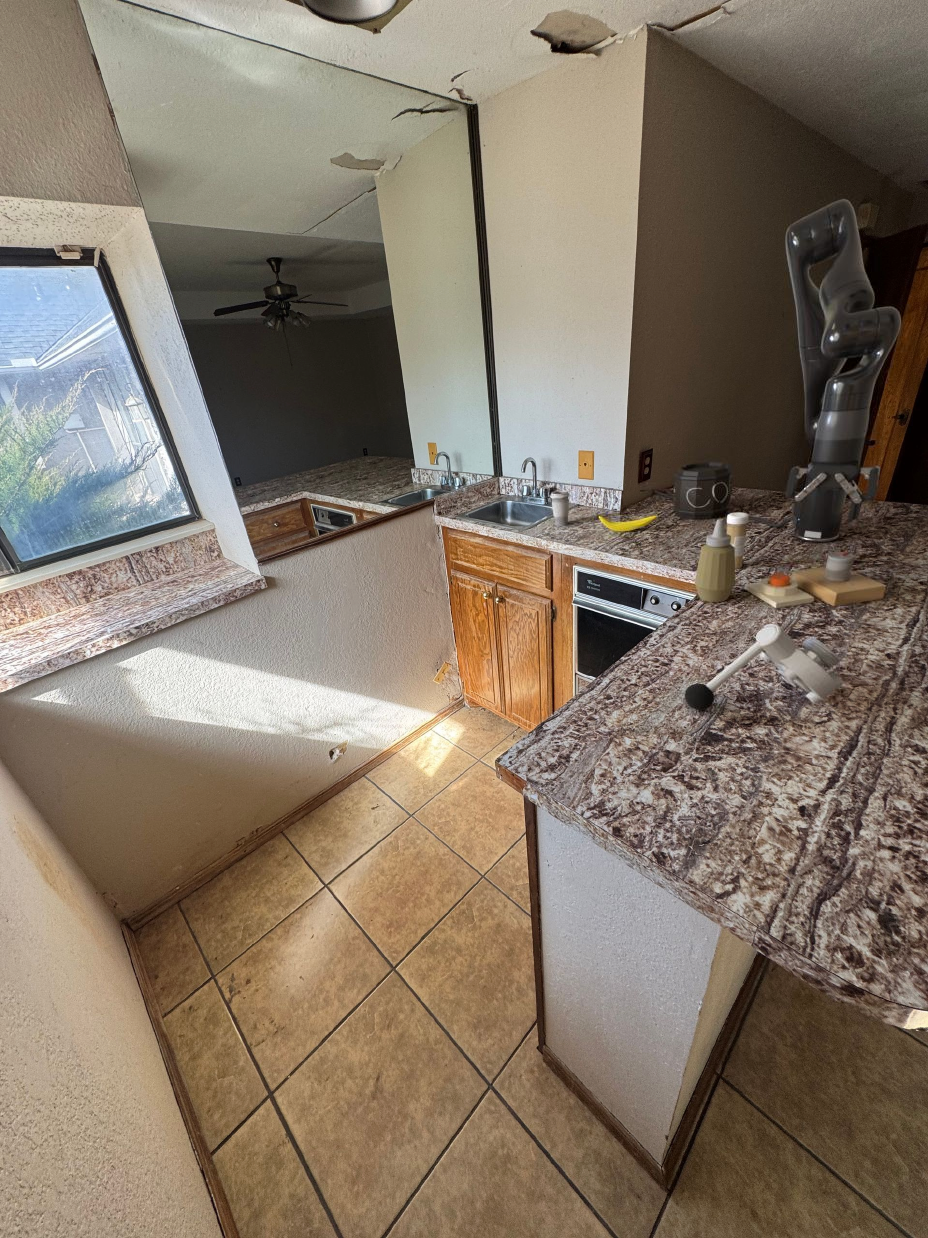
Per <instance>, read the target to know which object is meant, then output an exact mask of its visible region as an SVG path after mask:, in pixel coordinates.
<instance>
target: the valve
mask: <svg viewBox="0 0 928 1238" xmlns="http://www.w3.org/2000/svg"><path fill="white" fill-rule="evenodd" d="M755 640H756V641H755V643H754V644H753V645H751V646H750V647H749V648H748V649H747V650H745V651H744V652H743V653H742V654H740V655H739V656H738V657H737V658H736V659H735V660H733V661H732V662H731V663H730V664H729V665H728V666H726V667H725V668H724V669H723V670H722V671H720V672H719V673H718V674H717V675H716V676H714V678H712V679H711V680H710V681H709V682H707V683H706V684H704V683H699V682H697V683H693V684H691V685H689V686H687V688H686V690H685V692H684V700H685V702H686V704H687V705H688V706H689V707H690V708H691V709H693V710H695V711H705V710H708V709H709V708H710V707H712V705H713V704H714V702H715V693H714V691H716V690H717V689H718V688H720V686H722V685H723V684H724V683H725V682H727V681H728V680H729V679H730V678H732V677H733V676H734V675H736V673H738V671H740V670H741V669H742V668H744V667H745V666H746V665H747V664H748V663H750V662H751V661H752V660H754V658H756V657H757V656H759V657H760V658H761V659H762V661H764V662H765V663H767V664H769V663H770V662H772V663H773V665H774V666H775V667H776V668H777V669H778V670H777V671H776V672H777V673H778V674H779V675H780V678H781V679H782V680H783V681H784V682H786V684H788V685H792V687H794V688H797V687H799V688H800V689H802V690H804V691H805V692H807V694H805V697H806V699H808V700H809V701H810V702H811V703H812V704H813V705H817V704H818V703H819V702H821V701H823V700H824V699H826V698H827V697H829V696H830V695H831V694H833V693H834V692H835V691H837V689H839V688H840V687H841V686H843V685H844V682H843V680H842V679H841V677H838V676H837V675H835V674H833V673H831V674H829V673H828V672H827V670H826V669H824V667H826V668H827V669H830V670H831V668H834V666H836V665H837V664H838V663H840V662H841V660H840V657H838V655H837V654H835V652H834V651H832V650H831V648H829V647H828V646H826V645H825V644H824V643H823V642H822V641H820V640H818V639H817V638H815V637H813V636H811V635H810V636H808V637H807V638H805V639H804V640H803V641H802V642H800V645H801V647H802V648H803V649H801V648H800V647H799V645H798V644H797V642H796V641H794V639H793V638H792V637H791V636H790V635H789V634H788V633H787V632H786V631H785V630H784V629H783V628H782V627H781V626H780V625H779V624H776V623H768V624H765V625H763V627H762V628H761V629H760V630H759V631H758V632H757V633H756V636H755ZM823 666H824V667H823Z"/></svg>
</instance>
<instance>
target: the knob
mask: <svg viewBox="0 0 928 1238" xmlns="http://www.w3.org/2000/svg"><path fill="white" fill-rule="evenodd" d="M855 556H856V555H854V554H853V553H851V552H850V551H848V550H847V551H835V552H830V553H828V555H827V559H826V564H825V566H826V569H825V574H824V578H825V579H827V580H830V581H835V582H844V581H848V580H849V579H850V576H851V571H853V566H854V562H855Z"/></svg>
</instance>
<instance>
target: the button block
mask: <svg viewBox="0 0 928 1238" xmlns="http://www.w3.org/2000/svg"><path fill="white" fill-rule="evenodd" d="M769 582H770V577H766V578H763V579H762V580H761V581H757V582H750V583H746V584H744V589H745V590H746V591H747V592H749V593H751V594H752V595H754V596H755V597H757V598H759V599H760V600H762V601H763V602H765V603H767V604H768V605H770V606H772V607H774V608H775V609H777V608H778V609H779V608H785V607H790V606H796V605H797V606H798V605H804V604H810V603H814V601H815V596H814V595H812V594H810V593H808V592H806V591H804V590H802V589H800V588H799V587H797V586H798V585H797V582H796V581H794V580H792V579H791V578H790V582H789V586H785V587H777V586H772V585H770V584H769Z"/></svg>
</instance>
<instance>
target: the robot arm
mask: <svg viewBox="0 0 928 1238" xmlns="http://www.w3.org/2000/svg"><path fill="white" fill-rule="evenodd" d="M784 239H785V242H784V243H785V244H784V245H785V253H786V260H787V265H788V272H789V277H790V282H791V287H792V288H791V289H792V293H793V299H794V305H795V313H796V314H795V315H796V325H797V338H798V348H799V357H800V364H801V369H802V370H801V371H802V378H803V388H804V431H805V437H806V441H807V442H808V443H809V444H810V445H813V450H812V455H811V460H810V462H809V463H808V465H807V467H802V466H800V465H794V467H793V468H791V469H790V471H789V476H788V479H787V485H786V489H785V494H784V497H785V498H787V499H792V500H793V501H794V505H793V511H792V515H793V516H792V517H789V518H785V519H784V520H782V521H781V522H780V523H774V522H770V521H768V520H766V519H763V518H759V517H756V516H755V517H754V516H750V515H749V518H748V520H751V521H754V522H755V521H757V522H759V523H763V524H766V525H768V526H770V527H773V528H781V527H783V526H784V525H785V524H787V523H788V522H791V521H792V525H793V526H795V528H794V535H795V537H796V539H798V540H800V541H803V542H809V543H831V542H834V541H837V540H838V539H839V535H840V529H841V524H842V519H843V514H844V509H845V504H846V499H847V496H849V497H850V499H851V500H852V502H851V503H850V508H849V513H848V518H847V523H853V522H854V520H857V519H858V518H859V516H860V512H861V508H862V504H863V503H865V502H870V501H873V500H874V499H875V498H876V496H877V493H878V487H879V480H880V479H879V478H880V473H881V466H880V465H877V464H876V465H874V466H868V467H867V466H866V467H862V465H861V459H862V455H863V449H864V444H865V440H866V435H867V433H868V430H869V420H870V408H871V402H872V398H873V393H874V389H875V384H876V381H877V379H878V377H879V375H880V372H881V370H882V367H883V366H884V363H885V361H886V359H887V357H888V355H889V353H890V352H891V349H892V347H893V346H894V344H895V342H896V340H897V338H898V336H899V334H900V330H901V327H902V317H901V314H900V311H898V309H897V308H895V307H894V306H881V307H875V308H873V307H874V304H875V292H874V289H873V287H872V285H871V282H870V279H869V277H868V274H867V273H866V269H865V266H864V260H863V250H862V243H861V237H860V232H859V226H858V221H857V215H856V212H855V208H854V207H853V204H852V203H851V201H849V200H848V199H846V198H843V199H842V198H841V199H839V200H836V201H834V202H831V203H829V204H827V205H825V206H823V207H821V208H819V209H818V210H816V211H814V212H811V213H809V214H807V215H806V216H804V217H802V218H800V219H797V220H796V221H795V222H793V223H791V224H790V225H789V226H788V227H787V229H786V232H785V238H784ZM833 258H834V259H833ZM830 259H833V261H832V263H831V264H830V265H829V267H828V268H827V271H826V272H825V274H824V275H823V278H822V280H821V283H820V285H819V288H818V287H817V286H816V284H815V283H814V281H813V280H812V278H811V276H810V269H811V268H813V267H816V266H818V265H820V264H822V263H825V262H827V261H829V260H830ZM857 357H861V359H860V361H858V363H857V364H856V366H855V367H854V368H852V369H850V370H848V371H844V372H841V373H839V372H840V371H841V369H842V368H843V367H844V365H845V363H846V361H847V360H848V359H850V358H857ZM804 474H806V475H805V482H804V486H803V487H804V488H803V489H802V490H801V491H800V492H799V491H796V489H797V486H798V481H799V480H800V479H801V478H802V477H803V476H804ZM861 474H862V475H863V477H864V479H865V480H868V483H867V489H866V492H865V493H862V491H861V490H860V489H859V487H858V485H857V484H856V482H855V481H854V480H856V479H857V477H859V476H860V475H861ZM657 491H658V490H656V491H655V492H654V493H655V494H658V495H661V496H663V497H665V498H669V499H671V500H674V496H673V495H669V494H666V493H665V492H664V493H663V492H661V491H659V492H657ZM731 513H732V512H729V511H727V512H725V513H724V516H725V515H726V516H728V514H731Z"/></svg>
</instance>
